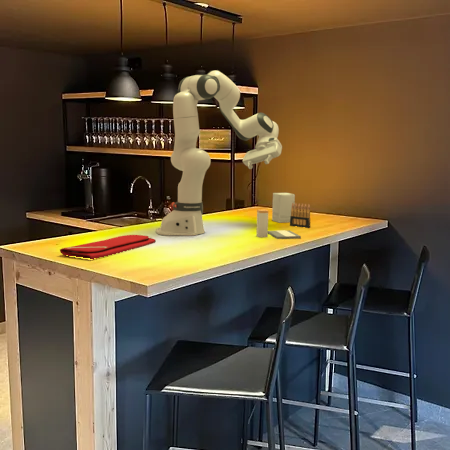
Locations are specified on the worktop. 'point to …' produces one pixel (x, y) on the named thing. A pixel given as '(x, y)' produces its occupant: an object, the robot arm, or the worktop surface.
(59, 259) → the worktop surface
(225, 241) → the worktop surface
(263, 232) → the orange-capped beige pillar
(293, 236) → the board
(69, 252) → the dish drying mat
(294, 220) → the ammunition clip
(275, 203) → the supplement box
